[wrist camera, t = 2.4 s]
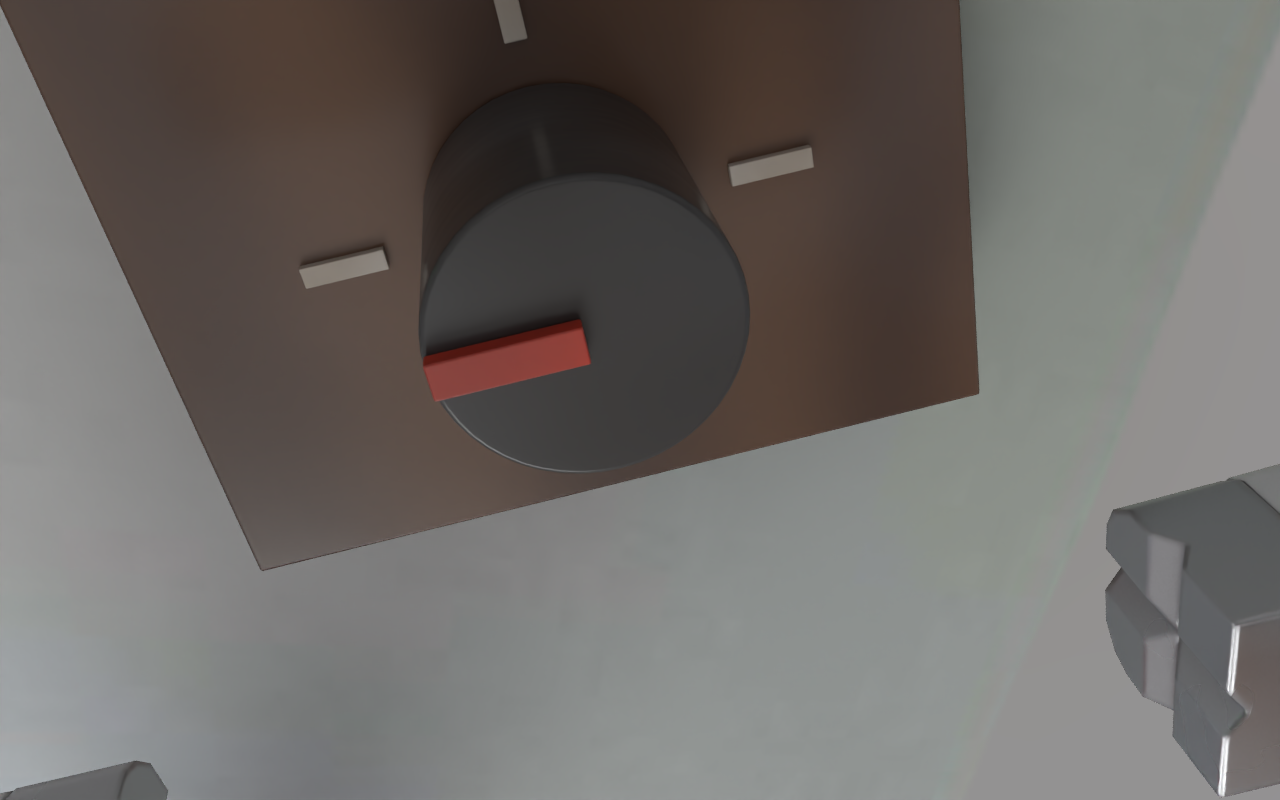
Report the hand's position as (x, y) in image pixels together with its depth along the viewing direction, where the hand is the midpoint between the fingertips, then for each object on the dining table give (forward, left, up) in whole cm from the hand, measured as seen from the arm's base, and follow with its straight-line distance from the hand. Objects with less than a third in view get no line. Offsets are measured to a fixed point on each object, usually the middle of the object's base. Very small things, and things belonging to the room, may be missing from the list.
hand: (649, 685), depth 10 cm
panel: (0, 0, -14) cm, 14 cm away
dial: (0, 0, -11) cm, 11 cm away
